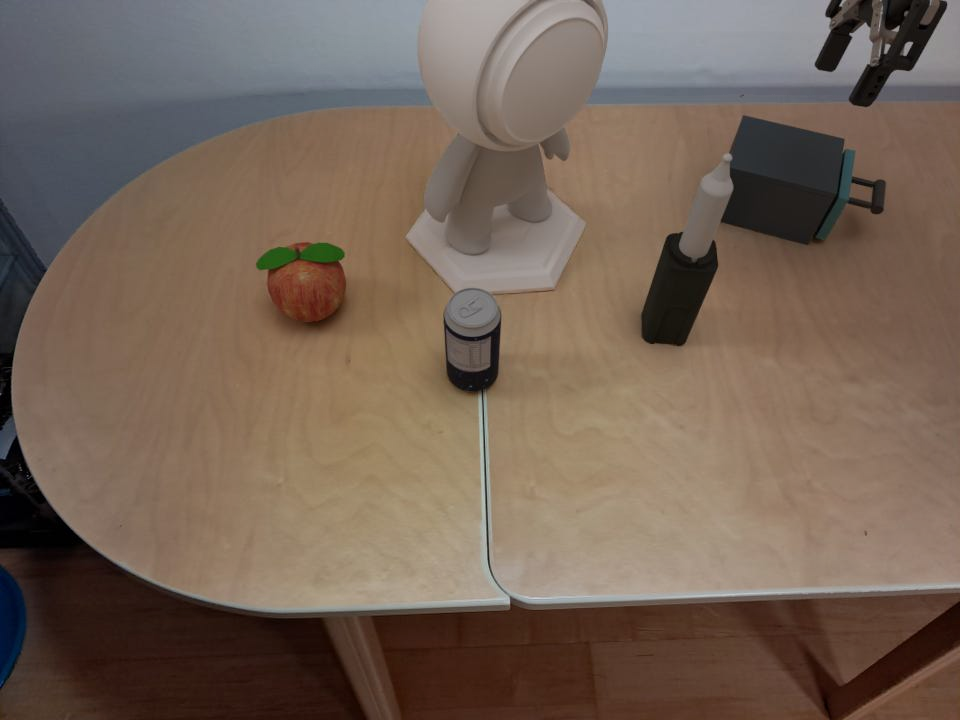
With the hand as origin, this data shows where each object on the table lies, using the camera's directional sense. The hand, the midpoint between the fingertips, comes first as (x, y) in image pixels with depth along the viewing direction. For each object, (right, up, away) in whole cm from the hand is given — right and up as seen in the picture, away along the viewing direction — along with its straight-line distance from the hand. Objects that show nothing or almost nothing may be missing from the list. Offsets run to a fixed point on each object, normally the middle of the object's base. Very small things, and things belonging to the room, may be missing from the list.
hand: (839, 86), depth 72 cm
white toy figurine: (-35, -12, +18) cm, 41 cm away
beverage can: (-38, -30, +6) cm, 48 cm away
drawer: (+5, -8, +19) cm, 22 cm away
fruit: (-57, -22, +11) cm, 62 cm away
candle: (-16, -24, +10) cm, 30 cm away
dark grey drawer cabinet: (+1, -7, +21) cm, 22 cm away
